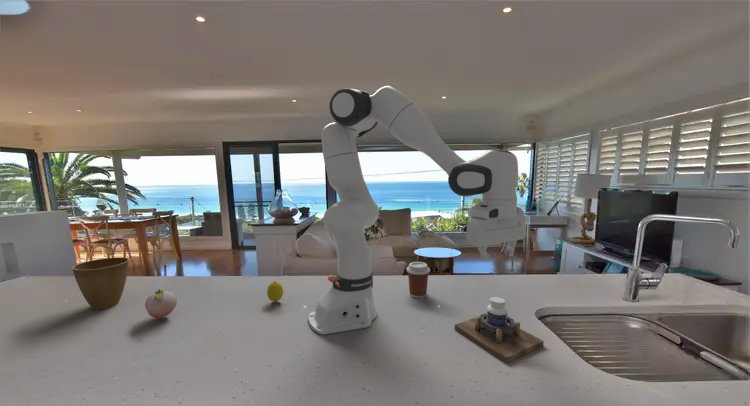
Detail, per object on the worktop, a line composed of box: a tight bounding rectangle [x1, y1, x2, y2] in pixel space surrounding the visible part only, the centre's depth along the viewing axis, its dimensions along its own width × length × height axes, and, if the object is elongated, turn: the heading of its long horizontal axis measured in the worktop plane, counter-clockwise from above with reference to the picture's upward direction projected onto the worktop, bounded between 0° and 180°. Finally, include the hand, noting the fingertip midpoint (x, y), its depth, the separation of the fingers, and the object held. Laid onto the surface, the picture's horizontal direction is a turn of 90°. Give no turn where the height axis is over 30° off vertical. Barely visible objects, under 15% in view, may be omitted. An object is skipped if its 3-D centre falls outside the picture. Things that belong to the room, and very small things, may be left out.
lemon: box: [266, 281, 284, 303], centre depth 107 cm, size 6×6×8 cm
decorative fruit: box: [144, 289, 178, 320], centre depth 96 cm, size 9×8×10 cm
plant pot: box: [71, 256, 130, 311], centre depth 106 cm, size 15×15×16 cm
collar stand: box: [454, 312, 544, 364], centre depth 83 cm, size 15×18×5 cm
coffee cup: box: [405, 261, 431, 299], centre depth 113 cm, size 9×9×12 cm
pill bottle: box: [486, 296, 508, 336], centre depth 83 cm, size 5×5×10 cm
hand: (496, 257), depth 82 cm, fingers open, 8 cm apart
